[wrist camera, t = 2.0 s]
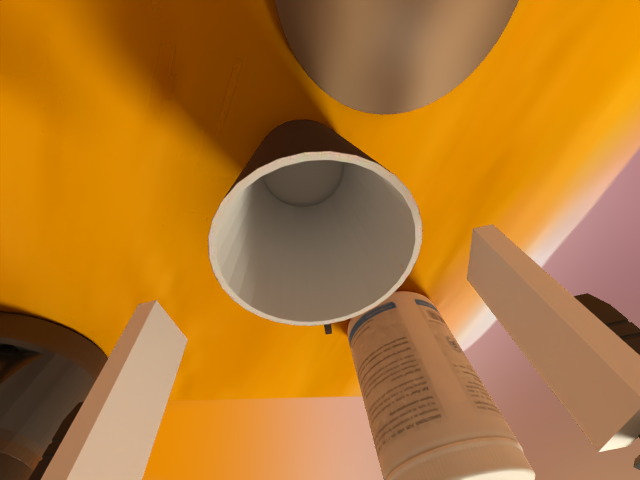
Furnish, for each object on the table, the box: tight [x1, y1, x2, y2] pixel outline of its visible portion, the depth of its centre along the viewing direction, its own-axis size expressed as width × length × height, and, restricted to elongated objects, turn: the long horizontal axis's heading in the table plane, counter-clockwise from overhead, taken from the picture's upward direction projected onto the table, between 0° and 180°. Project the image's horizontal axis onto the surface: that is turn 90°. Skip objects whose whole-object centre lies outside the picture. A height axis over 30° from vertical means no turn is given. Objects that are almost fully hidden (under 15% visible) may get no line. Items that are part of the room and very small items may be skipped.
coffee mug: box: [208, 120, 422, 334], centre depth 17 cm, size 12×9×10 cm
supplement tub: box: [348, 291, 535, 480], centre depth 24 cm, size 10×10×15 cm
